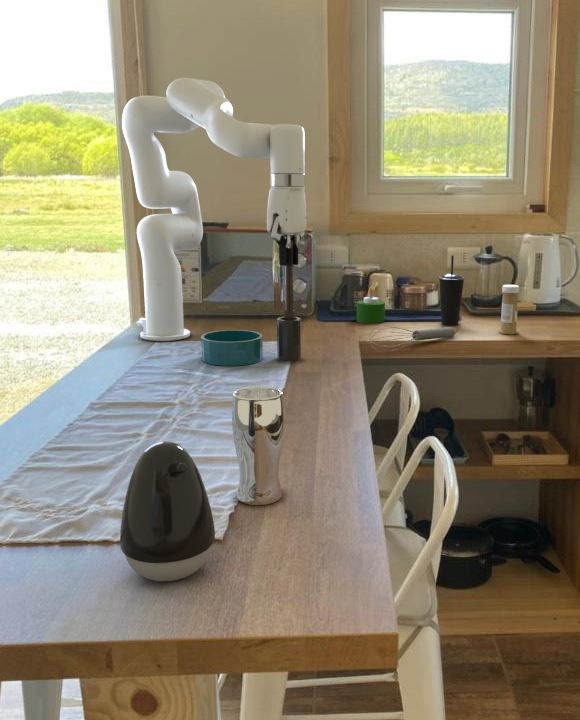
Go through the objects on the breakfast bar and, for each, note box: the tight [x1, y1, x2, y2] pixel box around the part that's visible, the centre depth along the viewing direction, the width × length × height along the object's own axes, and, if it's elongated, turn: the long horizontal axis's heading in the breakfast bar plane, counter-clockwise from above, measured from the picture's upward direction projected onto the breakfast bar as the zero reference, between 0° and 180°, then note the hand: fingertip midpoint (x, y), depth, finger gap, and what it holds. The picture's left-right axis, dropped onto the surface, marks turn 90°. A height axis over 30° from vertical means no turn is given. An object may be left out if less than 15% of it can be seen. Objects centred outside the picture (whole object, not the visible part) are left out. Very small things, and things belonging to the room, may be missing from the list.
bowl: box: [200, 329, 264, 367], centre depth 186 cm, size 14×14×6 cm
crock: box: [276, 316, 302, 363], centre depth 187 cm, size 5×6×10 cm
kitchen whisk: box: [366, 325, 459, 353], centre depth 207 cm, size 6×34×6 cm, turn 136°
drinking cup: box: [438, 254, 466, 326], centre depth 234 cm, size 8×8×20 cm
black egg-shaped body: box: [119, 441, 216, 582], centre depth 89 cm, size 10×10×15 cm
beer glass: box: [231, 385, 285, 506], centre depth 110 cm, size 7×7×15 cm
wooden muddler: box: [284, 240, 296, 320], centre depth 184 cm, size 2×2×20 cm
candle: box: [356, 286, 386, 324], centre depth 237 cm, size 8×8×10 cm
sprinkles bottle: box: [499, 284, 520, 335], centre depth 223 cm, size 5×5×13 cm
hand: (288, 264), depth 183 cm, fingers closed on wooden muddler, 1 cm apart
